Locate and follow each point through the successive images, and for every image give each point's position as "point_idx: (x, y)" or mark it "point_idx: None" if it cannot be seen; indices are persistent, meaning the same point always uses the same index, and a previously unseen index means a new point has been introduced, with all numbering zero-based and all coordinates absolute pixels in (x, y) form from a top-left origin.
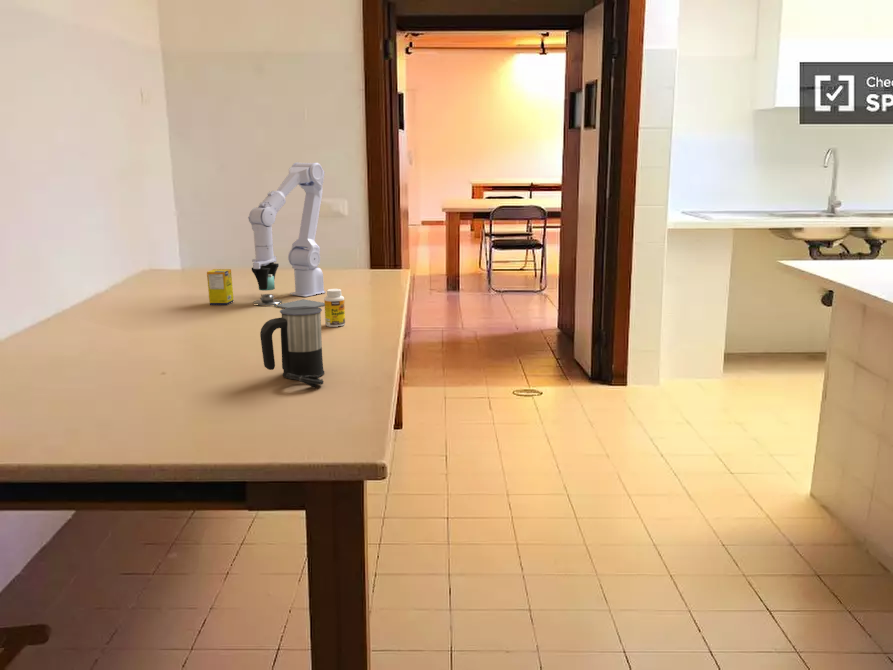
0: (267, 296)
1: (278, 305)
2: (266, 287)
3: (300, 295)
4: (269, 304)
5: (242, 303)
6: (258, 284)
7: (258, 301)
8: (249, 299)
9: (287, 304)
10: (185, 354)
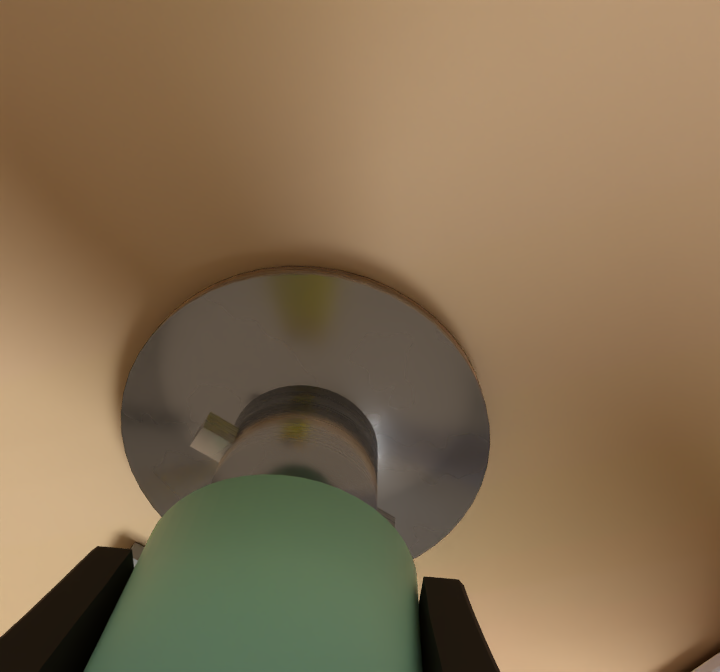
0: None
1: None
2: None
3: (706, 669)
4: (152, 502)
5: (291, 78)
6: (25, 614)
7: (306, 337)
8: (638, 85)
9: None
10: None
